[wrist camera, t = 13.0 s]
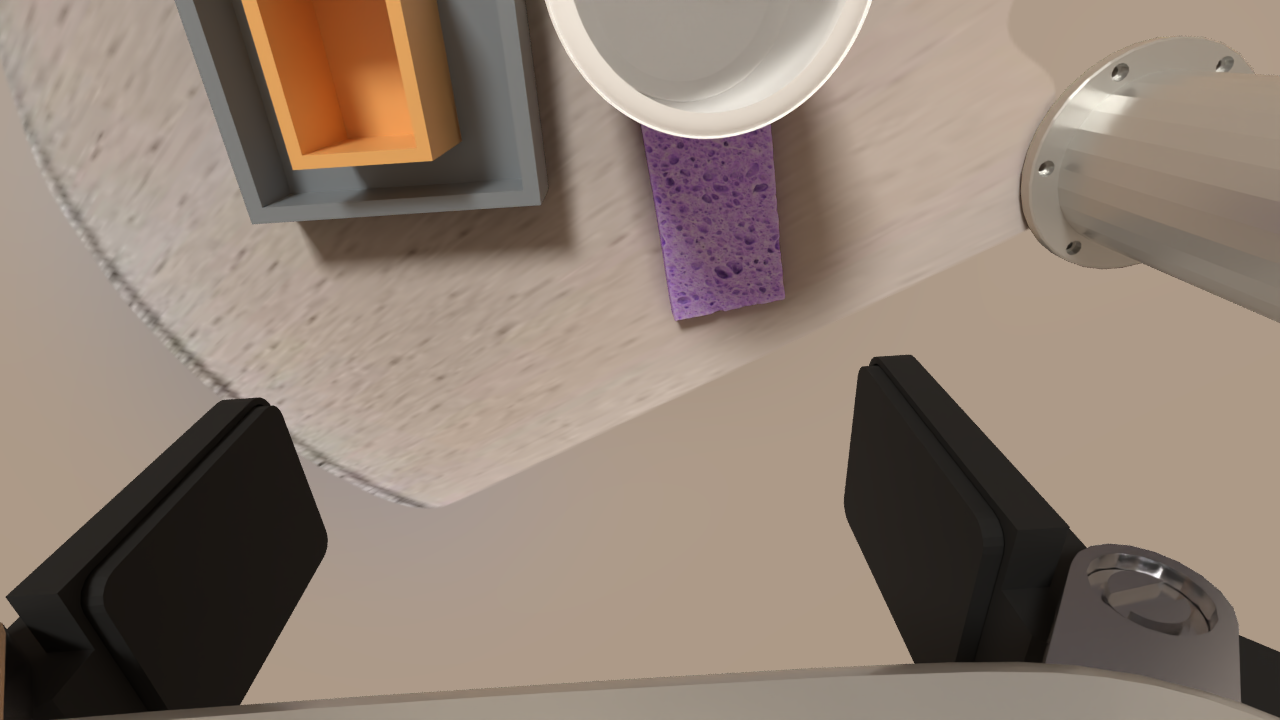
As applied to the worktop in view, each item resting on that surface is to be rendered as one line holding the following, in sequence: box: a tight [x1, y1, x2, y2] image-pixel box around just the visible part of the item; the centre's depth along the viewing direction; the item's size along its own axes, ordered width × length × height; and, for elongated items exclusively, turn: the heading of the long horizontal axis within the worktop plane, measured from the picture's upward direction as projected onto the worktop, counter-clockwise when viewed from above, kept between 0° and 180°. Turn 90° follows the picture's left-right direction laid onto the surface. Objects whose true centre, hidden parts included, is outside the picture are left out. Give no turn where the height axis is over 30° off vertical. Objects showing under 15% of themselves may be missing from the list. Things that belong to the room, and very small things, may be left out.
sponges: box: [640, 123, 785, 321], centre depth 37 cm, size 7×13×2 cm, turn 10°
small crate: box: [241, 0, 462, 170], centre depth 29 cm, size 6×9×6 cm
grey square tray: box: [175, 0, 549, 224], centre depth 31 cm, size 15×15×4 cm
